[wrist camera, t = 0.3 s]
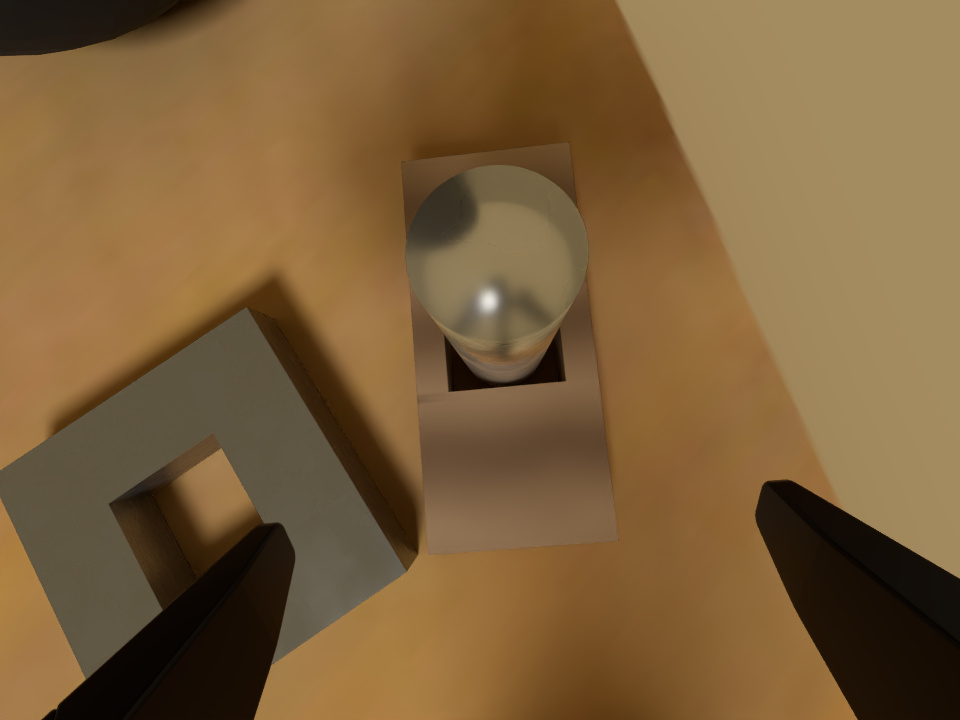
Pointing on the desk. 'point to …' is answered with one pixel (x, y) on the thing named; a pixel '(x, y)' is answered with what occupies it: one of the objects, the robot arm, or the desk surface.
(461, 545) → the wooden block with hole
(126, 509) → the block
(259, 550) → the robot arm
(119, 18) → the sphere
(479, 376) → the steel axle
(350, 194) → the desk surface
